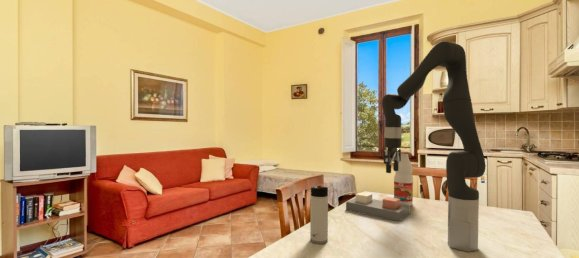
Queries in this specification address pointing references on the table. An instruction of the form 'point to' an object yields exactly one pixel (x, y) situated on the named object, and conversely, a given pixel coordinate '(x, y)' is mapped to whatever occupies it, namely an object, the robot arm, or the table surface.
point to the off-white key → (364, 198)
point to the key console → (378, 209)
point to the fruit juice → (404, 180)
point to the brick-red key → (391, 203)
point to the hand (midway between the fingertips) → (392, 171)
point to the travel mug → (319, 215)
